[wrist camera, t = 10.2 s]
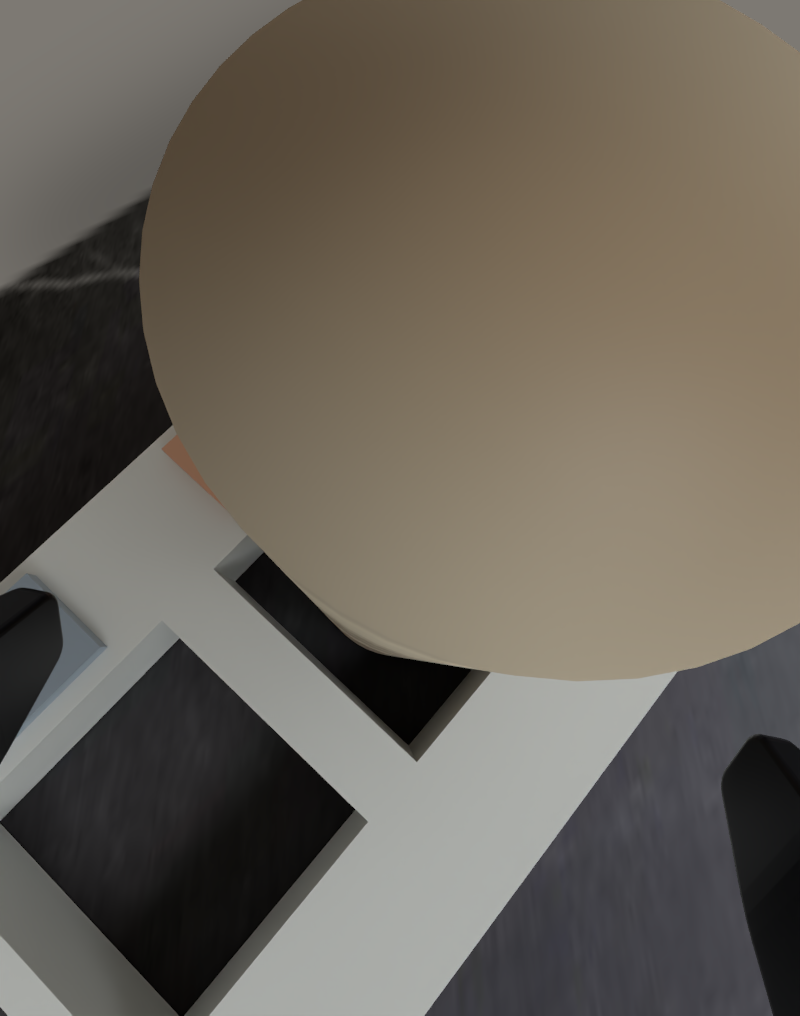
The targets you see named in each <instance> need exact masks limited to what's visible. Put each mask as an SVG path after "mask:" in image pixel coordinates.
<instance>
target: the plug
mask: <svg viewBox="0 0 800 1016" xmlns="http://www.w3.org/2000/svg"><path fill="white" fill-rule="evenodd" d="M139 285H140V297H141V309H142V321H143V331H144V335H145V340H146V344H147V348H148V352H149V356H150V360H151V365H152V369H153V373H154V377H155V381H156V384H157V387H158V389H159V392H160V394H161V397H162V399H163V401H164V404H165V406H166V409H167V411H168V414H169V416H170V419H171V421H172V424H173V426H174V429H175V431H176V434H177V435H178V437H179V439H180V440H181V442H182V444H183V446H184V447H185V449H186V451H187V452H188V454H189V456H190V458H191V459H192V461H193V463H194V464H195V466H196V468H197V470H198V471H199V473H200V475H201V476H202V478H203V480H204V482H205V483H206V484H207V486H208V487H209V488H210V489H211V491H212V492H213V493H214V495H215V496H216V497H217V498H218V500H219V501H220V502H221V503H222V505H223V506H224V507H225V508H226V510H227V511H228V512H229V514H230V515H231V516H232V517H233V519H234V520H235V521H236V522H237V524H238V525H239V526H240V527H241V529H242V530H243V531H244V532H245V533H246V534H247V535H248V536H249V537H250V538H251V539H252V540H253V541H254V542H255V543H256V544H257V545H258V546H259V547H260V548H261V549H262V550H263V551H264V552H265V553H266V554H267V555H268V557H269V558H270V559H271V560H272V561H273V562H274V563H275V564H276V565H277V566H278V567H279V568H280V569H281V570H282V571H283V572H284V573H285V574H286V575H287V576H288V577H289V578H290V579H291V580H292V581H293V582H294V583H295V584H296V585H297V586H298V587H299V588H300V589H301V590H302V591H303V592H304V593H305V594H306V595H307V597H308V598H309V599H310V600H311V601H312V602H313V603H314V604H315V605H316V606H317V607H318V608H319V609H320V610H321V611H322V612H323V613H324V614H325V615H326V616H327V617H328V618H329V619H330V620H331V621H332V622H333V623H334V624H335V625H336V626H337V627H338V628H339V629H340V630H341V631H342V632H343V633H344V634H345V635H346V636H347V637H348V638H349V639H351V640H352V641H353V642H355V643H356V644H358V645H359V646H361V647H363V648H365V649H367V650H370V651H372V652H375V653H378V654H383V655H387V656H394V657H400V658H406V659H413V660H419V661H425V662H432V663H438V664H444V665H451V666H457V667H463V668H470V669H476V670H482V671H489V672H495V673H501V674H508V675H514V676H525V677H536V678H546V679H557V680H568V681H594V680H616V679H638V678H643V677H648V676H654V675H659V674H664V673H670V672H675V671H680V670H685V669H691V668H696V667H699V666H702V665H705V664H708V663H711V662H714V661H716V660H719V659H722V658H725V657H728V656H731V655H734V654H737V653H740V652H742V651H745V650H748V649H751V648H753V647H755V646H757V645H759V644H761V643H763V642H764V641H766V640H768V639H770V638H772V637H774V636H776V635H778V634H780V633H782V632H783V631H785V630H787V629H789V628H791V627H793V626H795V625H797V624H799V623H800V52H799V51H797V50H796V49H794V48H793V47H791V46H790V45H789V44H787V43H786V42H785V41H783V40H782V39H780V38H779V37H778V36H776V35H775V34H774V33H772V32H771V31H770V30H768V29H767V28H765V27H764V26H762V25H761V24H760V23H758V22H756V21H754V20H753V19H751V18H749V17H748V16H746V15H744V14H742V13H741V12H739V11H737V10H735V9H734V8H732V7H730V6H728V5H727V4H725V3H723V2H722V1H720V0H302V1H301V2H299V3H297V4H295V5H293V6H292V7H290V8H288V9H287V10H285V11H284V12H283V13H281V14H280V15H279V16H277V17H276V18H275V19H273V20H272V21H270V22H269V23H268V24H266V25H265V26H264V27H262V28H261V29H259V30H258V31H257V32H255V33H254V34H253V35H252V36H251V37H250V38H249V39H247V41H246V42H244V43H243V44H242V45H241V46H240V47H239V48H238V49H237V50H236V51H235V52H234V53H233V54H232V55H231V56H230V57H229V58H228V59H227V60H226V61H225V62H224V63H223V64H222V65H221V66H220V67H219V68H218V69H217V71H216V72H215V73H214V74H213V76H212V77H211V78H210V79H209V81H208V82H207V84H206V85H205V86H204V87H203V88H202V90H201V91H200V92H199V94H198V95H197V96H196V97H195V99H194V100H193V101H192V103H191V105H190V106H189V108H188V110H187V112H186V114H185V115H184V117H183V119H182V120H181V122H180V124H179V126H178V127H177V129H176V131H175V133H174V134H173V136H172V138H171V140H170V141H169V144H168V147H167V149H166V152H165V155H164V157H163V159H162V162H161V165H160V167H159V170H158V172H157V175H156V177H155V180H154V183H153V186H152V190H151V195H150V199H149V203H148V208H147V212H146V217H145V221H144V226H143V230H142V244H141V258H140V273H139Z"/></svg>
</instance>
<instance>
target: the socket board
mask: <svg viewBox="0 0 800 1016" xmlns="http://www.w3.org/2000/svg"><path fill="white" fill-rule="evenodd" d="M263 552H264V551H263V550H262V549H261V548H260V547H259V546H258V545H257V544H256V543H255V542H254V541H253V540H252V539H251V538H250V537H249V536H248V535H247V534H246V533H245V532H244V531H243V530H242V529H241V527H240V526H239V525H238V524H237V522H236V521H235V520H234V519H233V517H232V516H231V515H230V514H229V512H228V511H227V510H226V508H225V507H224V506H223V505H222V503H221V502H220V501H219V500H218V498H217V497H216V496H215V495H214V493H213V492H212V491H211V489H210V488H209V487H208V486H207V484H206V483H205V482H204V480H203V478H202V476H201V475H200V473H199V471H198V470H197V468H196V466H195V464H194V463H193V461H192V459H191V458H190V456H189V454H188V452H187V451H186V449H185V447H184V446H183V444H182V442H181V440H180V439H179V437H178V435H177V434H176V431H175V429H174V426H173V425H172V426H171V427H170V428H169V429H168V430H167V431H166V432H165V433H164V434H162V435H161V436H160V437H159V438H158V439H157V440H156V441H155V442H154V443H153V444H151V445H150V446H149V447H148V448H147V449H146V450H145V451H144V452H143V453H142V454H141V455H139V456H138V457H137V458H136V459H135V460H134V461H133V462H132V463H131V464H130V465H129V466H127V467H126V468H125V469H124V470H123V471H122V472H121V473H120V474H119V475H118V476H116V477H115V478H114V479H113V480H112V481H111V482H110V483H109V484H108V485H107V486H106V487H104V488H103V489H102V490H101V491H100V492H99V493H98V494H97V495H96V496H95V497H94V498H92V499H91V500H90V501H89V502H88V503H87V504H86V505H85V506H84V507H83V508H82V509H80V510H79V511H78V512H77V513H76V514H75V515H74V516H73V517H72V518H71V519H69V520H68V521H67V522H66V523H65V524H64V525H63V526H62V527H61V528H60V529H59V530H57V531H56V532H55V533H54V534H53V535H52V536H51V537H50V538H49V539H48V540H47V541H45V542H44V543H43V544H42V545H41V546H40V547H39V548H38V549H37V550H36V551H35V552H33V553H32V554H31V555H30V556H29V557H28V558H27V559H26V560H25V561H24V562H22V563H21V564H20V565H19V566H18V567H17V568H16V569H15V570H14V571H13V572H12V573H10V574H9V575H8V576H7V577H6V578H5V579H4V580H3V581H2V582H1V583H0V595H2V594H4V593H7V592H9V591H11V590H14V589H17V588H30V589H35V590H40V591H45V592H50V593H52V594H54V596H55V597H56V598H57V601H58V605H59V613H60V620H61V627H62V634H63V649H62V653H61V655H60V658H59V660H58V662H57V664H56V666H55V667H54V669H53V671H52V673H51V675H50V676H49V678H48V680H47V682H46V684H45V685H44V687H43V689H42V691H41V693H40V694H39V696H38V698H37V700H36V702H35V703H34V705H33V707H32V709H31V711H30V712H29V714H28V716H27V718H26V720H25V721H24V723H23V725H22V727H21V729H20V730H19V732H18V734H17V736H16V738H15V740H14V741H13V743H12V745H11V747H10V749H9V750H8V752H7V754H6V756H5V757H4V759H3V761H2V762H1V764H0V821H1V820H2V819H3V818H4V817H5V816H6V814H7V813H8V812H9V811H10V810H11V809H12V808H13V807H14V806H15V805H16V804H17V803H18V802H19V801H20V800H21V799H22V798H23V797H24V796H25V795H26V794H27V793H28V792H29V791H30V790H31V789H32V788H33V787H34V786H35V785H36V784H37V783H38V782H39V781H40V780H41V779H42V778H43V777H44V776H45V775H46V774H47V773H48V772H49V771H50V770H51V769H52V768H53V767H54V766H55V765H56V764H57V762H58V761H59V760H60V759H61V758H62V757H63V756H64V755H65V754H66V753H67V752H68V751H69V750H70V749H71V748H72V747H73V746H74V745H75V744H76V743H77V742H78V741H79V740H80V739H81V738H82V737H83V736H84V735H85V734H86V733H87V732H88V731H89V730H90V729H91V728H92V727H93V726H94V725H95V724H96V723H97V722H98V721H99V720H100V719H101V718H102V717H103V716H104V715H105V714H106V713H107V712H108V710H109V709H110V708H111V707H112V706H113V705H114V704H115V703H116V702H117V701H118V700H119V699H120V698H121V697H122V696H123V695H124V694H125V693H126V692H127V691H128V690H129V689H130V688H131V687H132V686H133V685H134V684H135V683H136V682H137V681H138V680H139V679H140V678H141V677H142V676H143V675H144V674H145V673H146V672H147V671H148V670H149V669H150V668H151V667H152V666H153V665H154V664H155V663H156V662H157V661H158V660H159V658H160V657H161V656H162V655H163V654H164V653H165V652H166V651H167V650H168V649H169V648H170V647H171V646H172V645H173V644H174V643H175V642H176V641H177V640H178V639H179V638H180V639H181V640H182V641H183V642H184V643H185V644H186V645H187V646H188V647H189V648H190V649H192V650H193V651H194V652H195V653H196V654H197V655H198V656H199V657H200V658H201V659H202V660H203V661H204V662H205V663H206V664H207V665H208V666H209V667H210V668H211V669H212V670H213V671H214V672H215V673H216V674H217V675H218V676H219V677H220V678H221V679H222V680H223V681H224V682H225V683H226V684H227V685H228V686H229V687H230V688H231V689H233V690H234V691H235V692H236V693H237V694H238V695H239V696H240V697H241V698H242V699H243V700H244V701H245V702H246V703H247V704H248V705H249V706H250V707H251V708H252V709H253V710H254V711H255V712H256V713H257V714H258V715H259V716H260V717H261V718H262V719H263V720H264V721H265V722H266V723H267V724H268V725H269V726H270V727H271V728H272V729H274V730H275V731H276V732H277V733H278V734H279V735H280V736H281V737H282V738H283V739H284V740H285V741H286V742H287V743H288V744H289V745H290V746H291V747H292V748H293V749H294V750H295V751H296V752H297V753H298V754H299V755H300V756H301V757H302V758H303V759H304V760H305V761H306V762H307V763H308V764H309V765H310V766H311V767H312V768H313V769H315V770H316V771H317V772H318V773H319V774H320V775H321V776H322V777H323V778H324V779H325V780H326V781H327V782H328V783H329V784H330V785H331V786H332V787H333V788H334V789H335V790H336V791H337V792H338V793H339V794H340V795H341V796H342V797H343V798H344V799H345V800H346V801H347V802H348V803H349V804H350V805H351V806H352V807H353V808H354V809H355V811H354V812H353V813H352V814H351V815H350V817H349V818H348V819H347V820H346V821H345V823H344V824H343V825H342V826H341V827H340V829H339V830H338V831H337V832H336V834H335V835H334V836H333V837H332V838H331V840H330V841H329V842H328V843H327V844H326V846H325V847H324V848H323V849H322V850H321V852H320V853H319V854H318V855H317V856H316V858H315V859H314V860H313V861H312V862H311V864H310V865H309V866H308V867H307V868H306V870H305V871H304V872H303V873H302V874H301V876H300V877H299V878H298V879H297V880H296V882H295V883H294V884H293V885H292V886H291V888H290V889H289V890H288V891H287V892H286V894H285V895H284V896H283V897H282V898H281V900H280V901H279V902H278V903H277V904H276V906H275V907H274V908H273V909H272V911H271V912H270V913H269V914H268V915H267V917H266V918H265V919H264V920H263V921H262V923H261V924H260V925H259V926H258V927H257V929H256V930H255V931H254V932H253V933H252V935H251V936H250V937H249V938H248V939H247V941H246V942H245V943H244V944H243V945H242V947H241V948H240V949H239V950H238V951H237V953H236V954H235V955H234V956H233V957H232V959H231V960H230V961H229V962H228V963H227V965H226V966H225V967H224V968H223V969H222V971H221V972H220V973H219V974H218V975H217V977H216V978H215V979H214V980H213V982H212V983H211V984H210V985H209V986H208V988H207V989H206V990H205V991H204V992H203V994H202V995H201V996H200V997H199V998H198V1000H197V1001H196V1002H195V1003H194V1004H193V1006H192V1007H191V1008H190V1009H189V1010H188V1012H187V1013H186V1014H185V1015H184V1016H424V1015H425V1014H426V1012H427V1011H428V1010H429V1008H430V1007H431V1006H432V1004H433V1003H434V1002H435V1000H436V999H437V997H438V996H439V995H440V993H441V992H442V991H443V989H444V988H445V987H446V985H447V984H448V982H449V981H450V980H451V978H452V977H453V976H454V974H455V973H456V972H457V970H458V969H459V968H460V966H461V965H462V963H463V962H464V961H465V959H466V958H467V957H468V955H469V954H470V953H471V951H472V950H473V949H474V947H475V946H476V944H477V943H478V942H479V940H480V939H481V938H482V936H483V935H484V934H485V932H486V931H487V929H488V928H489V927H490V925H491V924H492V923H493V921H494V920H495V919H496V917H497V916H498V915H499V913H500V912H501V910H502V909H503V908H504V906H505V905H506V904H507V902H508V901H509V900H510V898H511V897H512V895H513V894H514V893H515V891H516V890H517V889H518V887H519V886H520V885H521V883H522V882H523V881H524V879H525V878H526V876H527V875H528V874H529V872H530V871H531V870H532V868H533V867H534V866H535V864H536V863H537V861H538V860H539V859H540V857H541V856H542V855H543V853H544V852H545V851H546V849H547V848H548V847H549V845H550V844H551V842H552V841H553V840H554V838H555V837H556V836H557V834H558V833H559V832H560V830H561V829H562V827H563V826H564V825H565V823H566V822H567V821H568V819H569V818H570V817H571V815H572V814H573V813H574V811H575V810H576V808H577V807H578V806H579V804H580V803H581V802H582V800H583V799H584V798H585V796H586V795H587V793H588V792H589V791H590V789H591V788H592V787H593V785H594V784H595V783H596V781H597V780H598V779H599V777H600V776H601V774H602V773H603V772H604V770H605V769H606V768H607V766H608V765H609V764H610V762H611V761H612V759H613V758H614V757H615V755H616V754H617V753H618V751H619V750H620V749H621V747H622V746H623V745H624V743H625V742H626V740H627V739H628V738H629V736H630V735H631V734H632V732H633V731H634V730H635V728H636V727H637V725H638V724H639V723H640V721H641V720H642V719H643V717H644V716H645V715H646V713H647V712H648V711H649V709H650V708H651V706H652V705H653V704H654V702H655V701H656V700H657V698H658V697H659V696H660V694H661V693H662V691H663V690H664V689H665V687H666V686H667V685H668V683H669V682H670V681H671V679H672V678H673V677H674V675H675V674H676V672H677V671H675V672H670V673H664V674H659V675H654V676H648V677H643V678H638V679H616V680H594V681H568V680H557V679H546V678H536V677H525V676H514V675H508V674H501V673H495V672H489V671H482V670H476V669H472V670H471V671H470V672H469V673H468V675H467V676H466V677H465V678H464V679H463V681H462V682H461V683H460V684H459V686H458V687H457V688H456V689H455V690H454V692H453V693H452V694H451V695H450V696H449V698H448V699H447V700H446V701H445V702H444V704H443V705H442V706H441V707H440V708H439V710H438V711H437V712H436V713H435V714H434V716H433V717H432V718H431V719H430V720H429V722H428V723H427V724H426V725H425V726H424V728H423V729H422V730H421V731H420V732H419V734H418V735H417V736H416V737H415V738H414V740H413V741H412V742H411V743H410V744H409V746H408V745H407V744H406V743H405V742H404V741H403V740H402V739H401V738H400V737H399V736H398V735H397V734H396V733H395V732H394V731H393V730H391V729H390V728H389V727H388V726H387V725H386V724H385V723H384V722H383V721H382V720H381V719H380V718H379V717H378V716H377V715H376V714H375V713H374V712H372V711H371V710H370V709H369V708H368V707H367V706H366V705H365V704H364V703H363V702H362V701H361V700H360V699H359V698H358V697H357V696H356V695H354V694H353V693H352V692H351V691H350V690H349V689H348V688H347V687H346V686H345V685H344V684H343V683H342V682H341V681H340V680H339V679H338V678H337V677H335V676H334V675H333V674H332V673H331V672H330V671H329V670H328V669H327V668H326V667H325V666H324V665H323V664H322V663H321V662H320V661H319V660H318V659H316V658H315V657H314V656H313V655H312V654H311V653H310V652H309V651H308V650H307V649H306V648H305V647H304V646H303V645H302V644H301V643H300V642H298V641H297V640H296V639H295V638H294V637H293V636H292V635H291V634H290V633H289V632H288V631H287V630H286V629H285V628H284V627H283V626H282V625H281V624H279V623H278V622H277V621H276V620H275V619H274V618H273V617H272V616H271V615H270V614H269V613H268V612H267V611H266V610H265V609H264V608H263V607H262V606H260V605H259V604H258V603H257V602H256V601H255V600H254V599H253V598H252V597H251V596H250V595H249V594H248V593H247V592H246V591H245V590H244V589H243V588H241V587H240V586H239V585H238V584H237V583H236V582H235V581H236V580H237V579H238V578H239V577H240V576H241V575H242V574H243V573H244V572H245V571H246V570H247V569H248V568H249V567H250V566H251V565H252V564H253V563H254V562H255V561H256V560H257V559H258V558H259V557H260V555H261V554H262V553H263ZM0 1007H1V1008H2V1009H3V1011H4V1012H5V1013H6V1014H7V1015H8V1016H179V1015H178V1014H177V1013H176V1012H175V1011H174V1010H173V1009H172V1008H171V1007H170V1005H169V1004H168V1003H167V1002H166V1001H165V1000H164V999H163V998H162V997H161V996H160V995H159V994H158V993H157V991H156V990H155V989H154V988H153V987H152V986H151V985H150V984H149V983H148V982H147V981H146V980H145V979H144V977H143V976H142V975H141V974H140V973H139V972H138V971H137V970H136V969H135V968H134V967H133V966H132V965H131V963H130V962H129V961H128V960H127V959H126V958H125V957H124V956H123V955H122V954H121V953H120V952H119V951H118V949H117V948H116V947H115V946H114V945H113V944H112V943H111V942H110V941H109V940H108V939H107V938H106V937H105V935H104V934H103V933H102V932H101V931H100V930H99V929H98V928H97V927H96V926H95V925H94V924H93V923H92V921H91V920H90V919H89V918H88V917H87V916H86V915H85V914H84V913H83V912H82V911H81V910H80V909H79V907H78V906H77V905H76V904H75V903H74V902H73V901H72V900H71V899H70V898H69V897H68V896H67V895H66V894H65V892H64V891H63V890H62V889H61V888H60V887H59V886H58V885H57V884H56V883H55V882H54V881H53V880H52V878H51V877H50V876H49V875H48V874H47V873H46V872H45V871H44V870H43V869H42V868H41V867H40V866H39V864H38V863H37V862H36V861H35V860H34V859H33V858H32V857H31V856H30V855H29V854H28V853H27V852H26V850H25V849H24V848H23V847H22V846H21V845H20V844H19V843H18V842H17V841H16V840H15V839H14V838H13V836H12V835H11V834H10V833H9V832H8V831H7V830H6V829H5V828H4V827H3V826H2V825H1V824H0Z"/></svg>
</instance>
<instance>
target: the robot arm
mask: <svg viewBox="0 0 800 1016" xmlns="http://www.w3.org/2000/svg"><path fill="white" fill-rule="evenodd" d="M62 649H63V634H62V627H61V620H60V613H59V605H58V601H57V598H56V597H55V596H54V594H52V593H50V592H45V591H40V590H35V589H30V588H17V589H14V590H11V591H9V592H7V593H4V594H2V595H0V764H1V762H2V761H3V759H4V757H5V756H6V754H7V752H8V750H9V749H10V747H11V745H12V743H13V741H14V740H15V738H16V736H17V734H18V732H19V730H20V729H21V727H22V725H23V723H24V721H25V720H26V718H27V716H28V714H29V712H30V711H31V709H32V707H33V705H34V703H35V702H36V700H37V698H38V696H39V694H40V693H41V691H42V689H43V687H44V685H45V684H46V682H47V680H48V678H49V676H50V675H51V673H52V671H53V669H54V667H55V666H56V664H57V662H58V660H59V658H60V655H61V653H62ZM721 791H722V797H723V803H724V808H725V813H726V819H727V824H728V829H729V835H730V840H731V845H732V851H733V856H734V862H735V867H736V872H737V878H738V883H739V888H740V894H741V898H742V903H743V907H744V912H745V917H746V920H747V924H748V928H749V932H750V936H751V940H752V943H753V947H754V950H755V953H756V957H757V960H758V964H759V967H760V971H761V974H762V978H763V981H764V985H765V988H766V992H767V995H768V999H769V1002H770V1006H771V1009H772V1013H773V1016H800V749H799V748H797V747H796V746H795V745H794V744H793V743H791V742H790V741H788V740H785V739H782V738H777V737H772V736H767V735H762V734H755V735H753V736H751V737H749V738H748V739H747V740H746V742H745V743H744V745H743V746H742V747H741V749H740V750H739V752H738V753H737V754H736V756H735V757H734V758H733V760H732V761H731V763H730V764H729V765H728V767H727V768H726V770H725V771H724V774H723V777H722V782H721Z"/></svg>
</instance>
